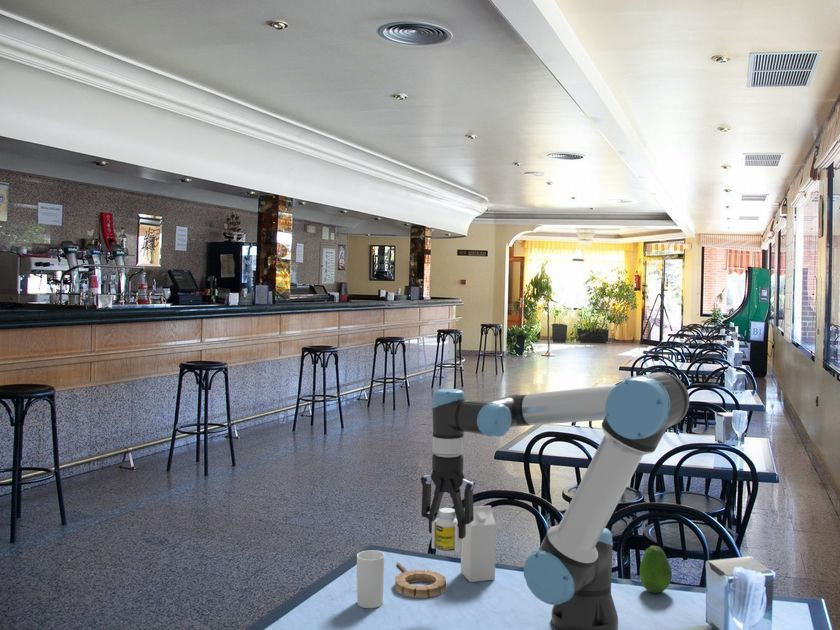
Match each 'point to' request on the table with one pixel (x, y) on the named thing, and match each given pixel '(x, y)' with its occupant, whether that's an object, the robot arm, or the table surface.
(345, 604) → the table surface
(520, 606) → the table surface
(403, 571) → the brown wooden stick
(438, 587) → the bead ring
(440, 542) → the supplement bottle
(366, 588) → the mug
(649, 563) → the fruit
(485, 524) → the milk carton
